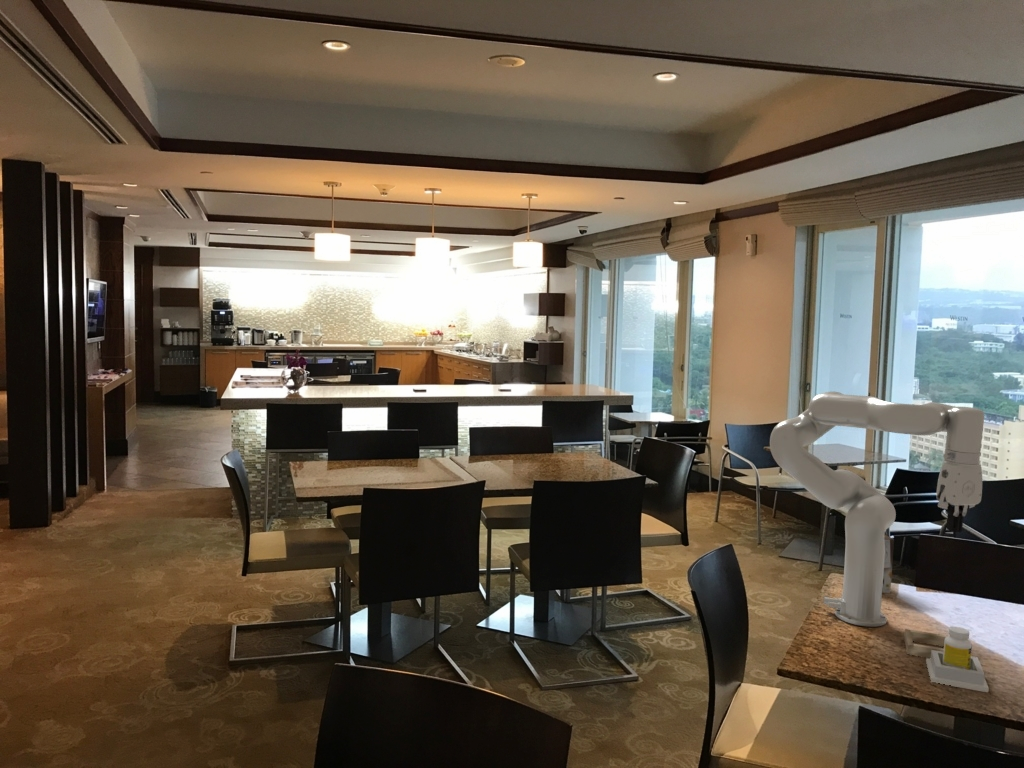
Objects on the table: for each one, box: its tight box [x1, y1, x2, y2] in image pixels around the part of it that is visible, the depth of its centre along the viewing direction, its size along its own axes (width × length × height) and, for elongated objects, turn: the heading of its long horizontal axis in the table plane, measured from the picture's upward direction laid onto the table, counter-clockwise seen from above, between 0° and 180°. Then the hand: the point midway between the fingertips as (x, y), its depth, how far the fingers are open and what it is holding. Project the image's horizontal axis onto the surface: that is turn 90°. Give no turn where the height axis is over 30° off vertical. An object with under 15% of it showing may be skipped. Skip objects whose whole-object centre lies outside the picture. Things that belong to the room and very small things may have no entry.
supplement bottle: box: [942, 626, 973, 670], centre depth 179 cm, size 5×5×10 cm
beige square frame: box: [903, 628, 948, 659], centre depth 193 cm, size 10×10×2 cm
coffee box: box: [882, 534, 895, 594], centre depth 236 cm, size 9×6×16 cm
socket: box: [925, 650, 989, 693], centre depth 179 cm, size 11×11×4 cm
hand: (953, 530), depth 198 cm, fingers closed
